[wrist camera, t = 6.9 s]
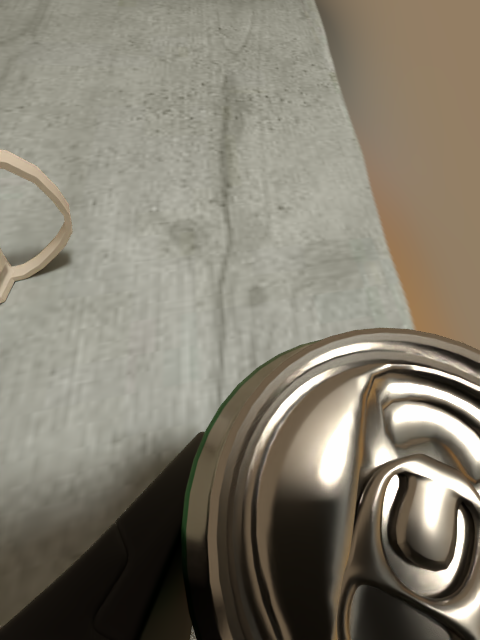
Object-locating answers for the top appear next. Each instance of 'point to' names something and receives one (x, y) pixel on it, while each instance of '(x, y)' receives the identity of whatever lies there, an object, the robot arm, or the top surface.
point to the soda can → (341, 495)
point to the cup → (4, 275)
